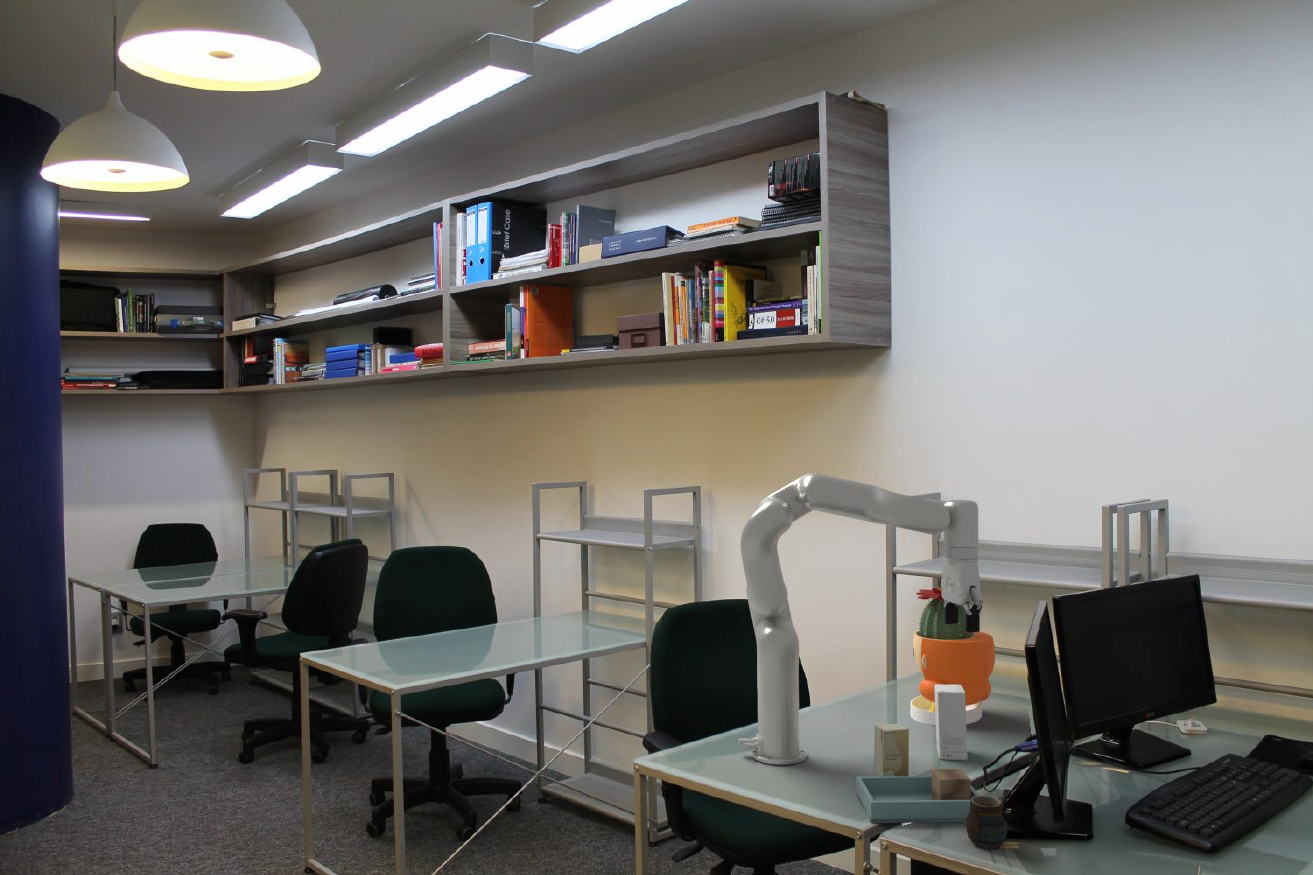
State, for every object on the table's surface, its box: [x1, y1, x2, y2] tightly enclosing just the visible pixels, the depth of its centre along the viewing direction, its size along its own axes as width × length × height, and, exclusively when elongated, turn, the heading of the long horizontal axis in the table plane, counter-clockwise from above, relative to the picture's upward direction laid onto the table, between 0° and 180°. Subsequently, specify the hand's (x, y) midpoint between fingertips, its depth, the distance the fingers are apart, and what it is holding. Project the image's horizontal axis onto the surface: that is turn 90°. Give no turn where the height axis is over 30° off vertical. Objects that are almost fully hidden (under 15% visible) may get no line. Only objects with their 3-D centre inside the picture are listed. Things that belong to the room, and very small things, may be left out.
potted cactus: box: [909, 586, 996, 726], centre depth 256 cm, size 22×22×35 cm
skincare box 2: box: [934, 685, 968, 761], centre depth 226 cm, size 8×7×16 cm
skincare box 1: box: [873, 723, 910, 777], centre depth 208 cm, size 6×4×12 cm
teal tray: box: [855, 775, 981, 824], centre depth 194 cm, size 22×14×4 cm, turn 90°
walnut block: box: [931, 768, 972, 800], centre depth 194 cm, size 6×6×6 cm
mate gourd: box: [965, 794, 1008, 850], centre depth 177 cm, size 7×8×10 cm
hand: (961, 627), depth 223 cm, fingers open, 9 cm apart
